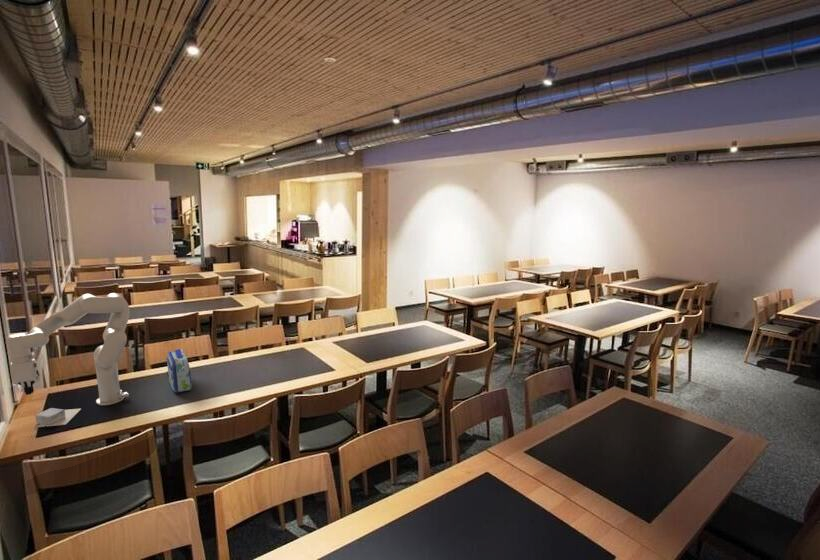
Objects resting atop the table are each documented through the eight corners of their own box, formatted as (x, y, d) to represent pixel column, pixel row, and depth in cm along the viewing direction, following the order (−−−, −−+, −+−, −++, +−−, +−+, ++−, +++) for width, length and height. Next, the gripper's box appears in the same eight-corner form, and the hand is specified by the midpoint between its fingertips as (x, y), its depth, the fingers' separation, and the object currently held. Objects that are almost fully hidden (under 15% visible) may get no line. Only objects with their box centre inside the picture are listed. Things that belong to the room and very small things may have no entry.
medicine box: (35, 423, 210) (50, 425, 209) (34, 414, 210) (49, 417, 208) (51, 415, 218) (66, 417, 216) (50, 407, 217) (65, 409, 216)
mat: (81, 409, 226) (81, 408, 226) (65, 424, 211) (65, 423, 211) (54, 411, 223) (54, 410, 223) (36, 427, 208) (36, 426, 208)
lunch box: (167, 380, 263) (164, 347, 259) (186, 376, 269) (184, 344, 265) (172, 397, 242) (169, 361, 238) (193, 392, 248) (191, 358, 244)
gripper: (44, 354, 213) (51, 388, 217) (8, 357, 209) (16, 392, 214) (35, 360, 206) (43, 395, 210) (-2, 363, 202) (6, 399, 206)
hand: (29, 393), depth 212 cm, fingers closed
